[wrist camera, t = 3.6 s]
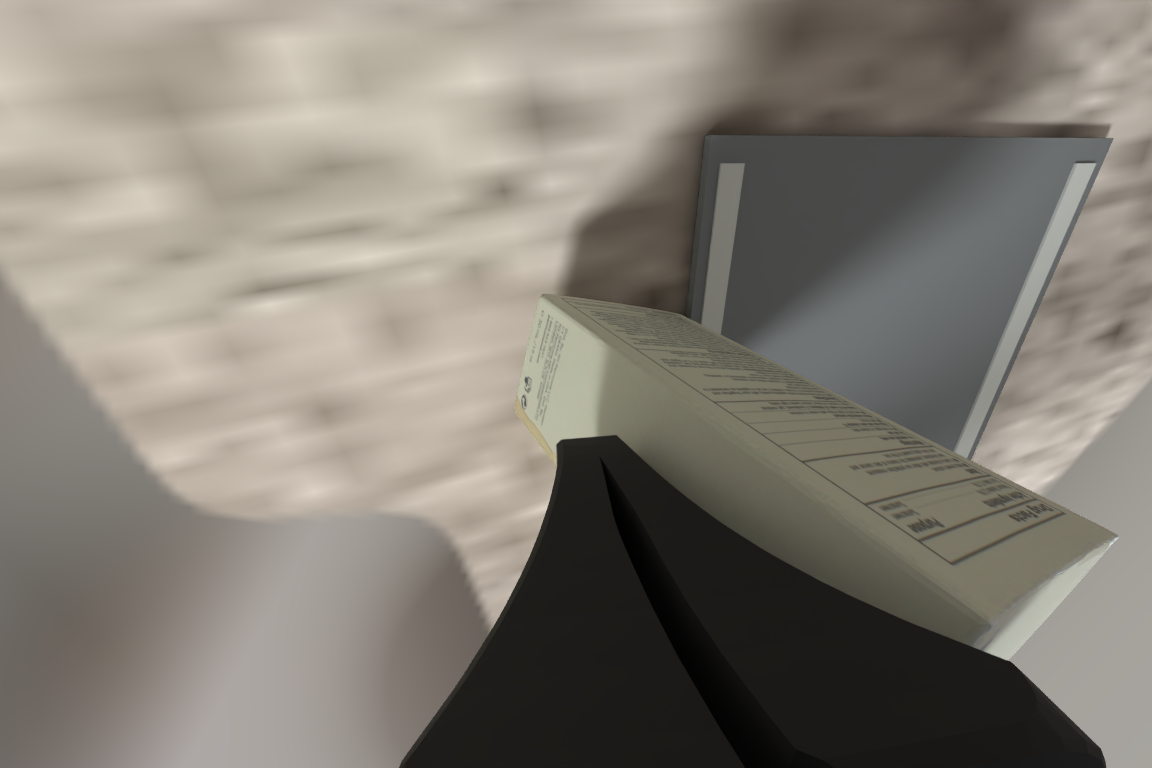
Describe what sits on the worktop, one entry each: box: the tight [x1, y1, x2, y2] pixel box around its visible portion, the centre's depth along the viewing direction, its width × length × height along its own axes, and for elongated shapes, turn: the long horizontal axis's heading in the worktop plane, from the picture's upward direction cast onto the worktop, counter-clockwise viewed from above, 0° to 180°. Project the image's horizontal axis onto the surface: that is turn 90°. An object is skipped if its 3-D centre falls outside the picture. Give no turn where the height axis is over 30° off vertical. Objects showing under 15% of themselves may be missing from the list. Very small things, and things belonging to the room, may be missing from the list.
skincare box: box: [515, 294, 1119, 661], centre depth 12 cm, size 6×4×12 cm
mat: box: [686, 135, 1114, 460], centre depth 19 cm, size 16×15×1 cm
